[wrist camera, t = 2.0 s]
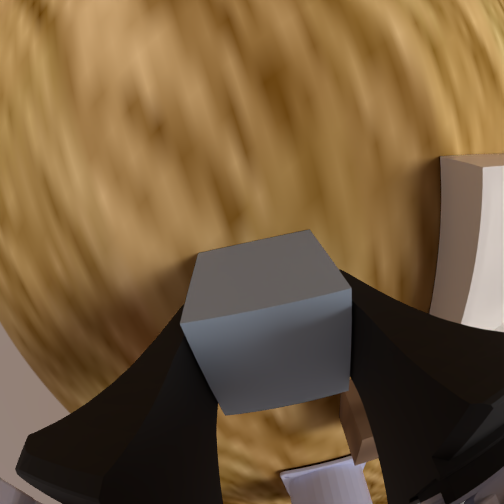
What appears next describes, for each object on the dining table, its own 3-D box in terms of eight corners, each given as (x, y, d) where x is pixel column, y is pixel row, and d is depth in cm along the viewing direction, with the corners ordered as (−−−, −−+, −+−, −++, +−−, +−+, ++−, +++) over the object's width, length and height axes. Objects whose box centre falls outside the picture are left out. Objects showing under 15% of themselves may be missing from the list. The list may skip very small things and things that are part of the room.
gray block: (319, 318, 11) (348, 390, 8) (226, 337, 11) (225, 415, 8) (309, 229, 10) (351, 288, 6) (198, 253, 10) (179, 323, 6)
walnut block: (394, 397, 15) (415, 442, 11) (338, 415, 15) (354, 466, 11) (404, 359, 13) (434, 410, 10) (340, 380, 13) (362, 439, 10)
